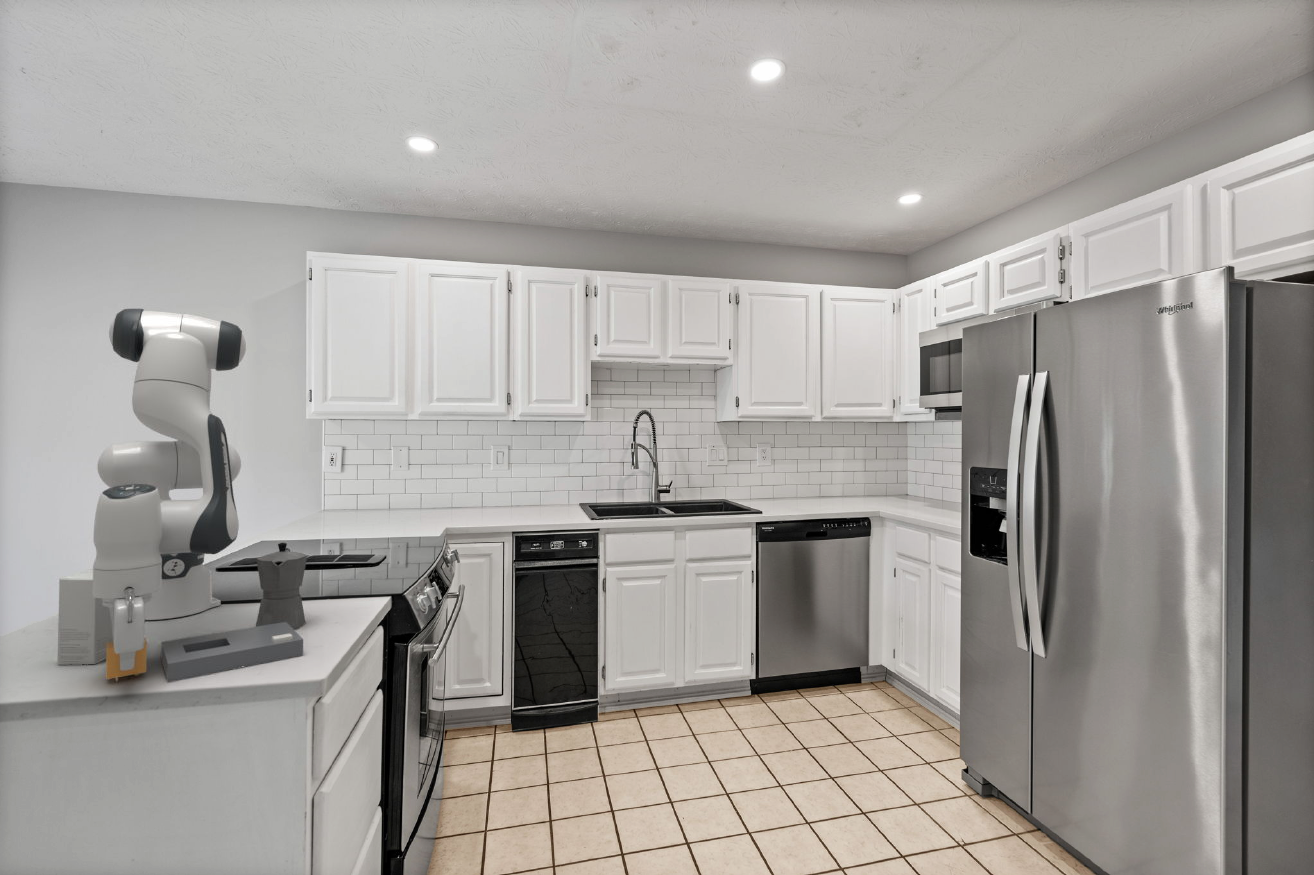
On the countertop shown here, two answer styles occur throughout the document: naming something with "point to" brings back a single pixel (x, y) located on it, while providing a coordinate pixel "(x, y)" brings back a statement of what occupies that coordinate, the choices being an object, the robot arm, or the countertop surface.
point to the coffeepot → (281, 587)
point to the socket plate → (229, 650)
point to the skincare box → (82, 622)
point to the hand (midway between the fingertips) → (126, 664)
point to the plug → (114, 662)
